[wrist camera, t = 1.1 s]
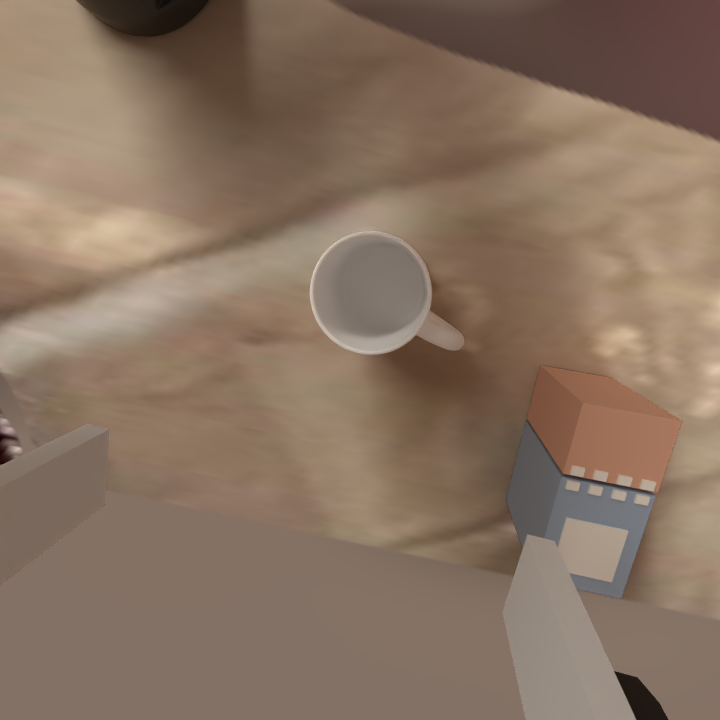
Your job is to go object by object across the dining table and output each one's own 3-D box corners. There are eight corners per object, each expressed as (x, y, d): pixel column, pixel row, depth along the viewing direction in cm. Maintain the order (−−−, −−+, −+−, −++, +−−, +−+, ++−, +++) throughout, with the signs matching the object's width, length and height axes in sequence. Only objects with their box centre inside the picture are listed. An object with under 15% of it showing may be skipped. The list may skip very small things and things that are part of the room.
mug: (485, 297, 39) (505, 308, 29) (430, 373, 41) (431, 408, 31) (370, 220, 39) (350, 205, 29) (321, 300, 41) (287, 312, 31)
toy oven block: (525, 420, 40) (562, 478, 29) (594, 434, 40) (657, 497, 29) (506, 499, 42) (533, 580, 31) (571, 513, 41) (622, 601, 31)
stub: (540, 365, 39) (584, 403, 28) (611, 377, 38) (684, 422, 27) (526, 418, 40) (563, 475, 29) (595, 431, 39) (659, 494, 29)
